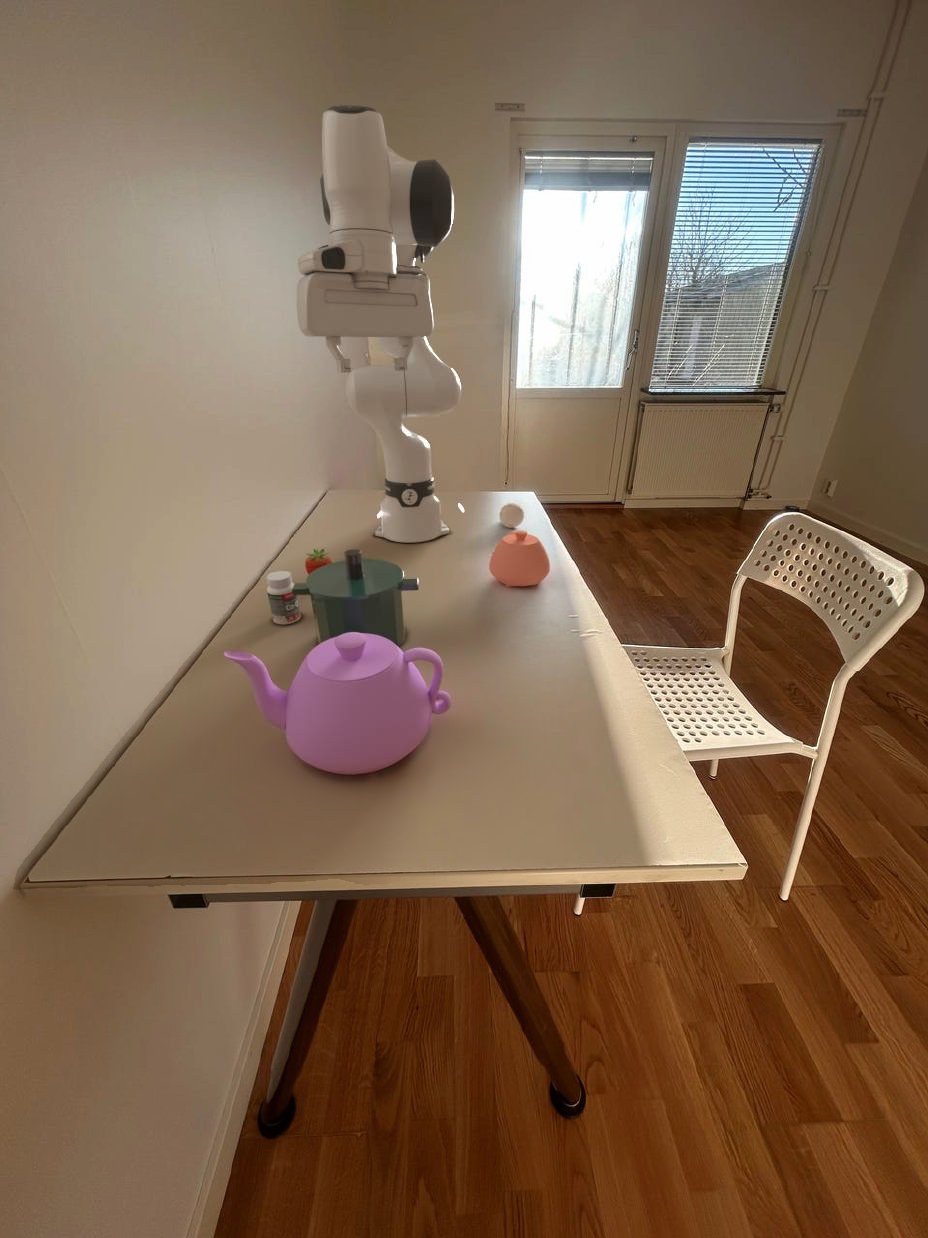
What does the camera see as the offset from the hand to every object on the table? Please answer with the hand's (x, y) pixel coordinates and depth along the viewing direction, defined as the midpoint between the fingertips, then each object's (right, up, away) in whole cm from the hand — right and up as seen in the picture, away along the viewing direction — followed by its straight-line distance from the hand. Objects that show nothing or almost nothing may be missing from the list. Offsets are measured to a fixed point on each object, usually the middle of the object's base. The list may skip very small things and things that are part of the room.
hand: (373, 371), depth 78 cm
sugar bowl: (+25, -29, +29) cm, 48 cm away
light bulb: (+26, -12, +60) cm, 67 cm away
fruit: (-15, -31, +26) cm, 43 cm away
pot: (-3, -41, +7) cm, 41 cm away
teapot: (0, -52, -14) cm, 54 cm away
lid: (-3, -32, +2) cm, 32 cm away
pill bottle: (-18, -38, +13) cm, 44 cm away
